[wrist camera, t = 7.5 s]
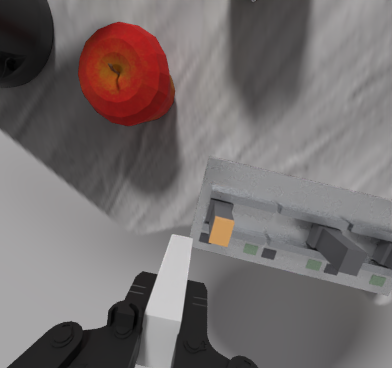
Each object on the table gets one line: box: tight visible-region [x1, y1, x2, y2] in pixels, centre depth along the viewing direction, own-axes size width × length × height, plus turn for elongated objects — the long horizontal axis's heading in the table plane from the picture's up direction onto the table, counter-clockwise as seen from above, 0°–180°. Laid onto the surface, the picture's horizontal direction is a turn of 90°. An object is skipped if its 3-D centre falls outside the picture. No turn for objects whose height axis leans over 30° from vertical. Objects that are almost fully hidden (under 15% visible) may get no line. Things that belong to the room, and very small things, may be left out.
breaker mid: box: [306, 223, 368, 276], centre depth 25 cm, size 3×3×6 cm
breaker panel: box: [189, 156, 392, 296], centre depth 28 cm, size 29×13×4 cm, turn 77°
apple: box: [78, 22, 175, 126], centre depth 22 cm, size 9×8×12 cm
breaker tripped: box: [205, 198, 235, 247], centre depth 25 cm, size 3×3×7 cm
